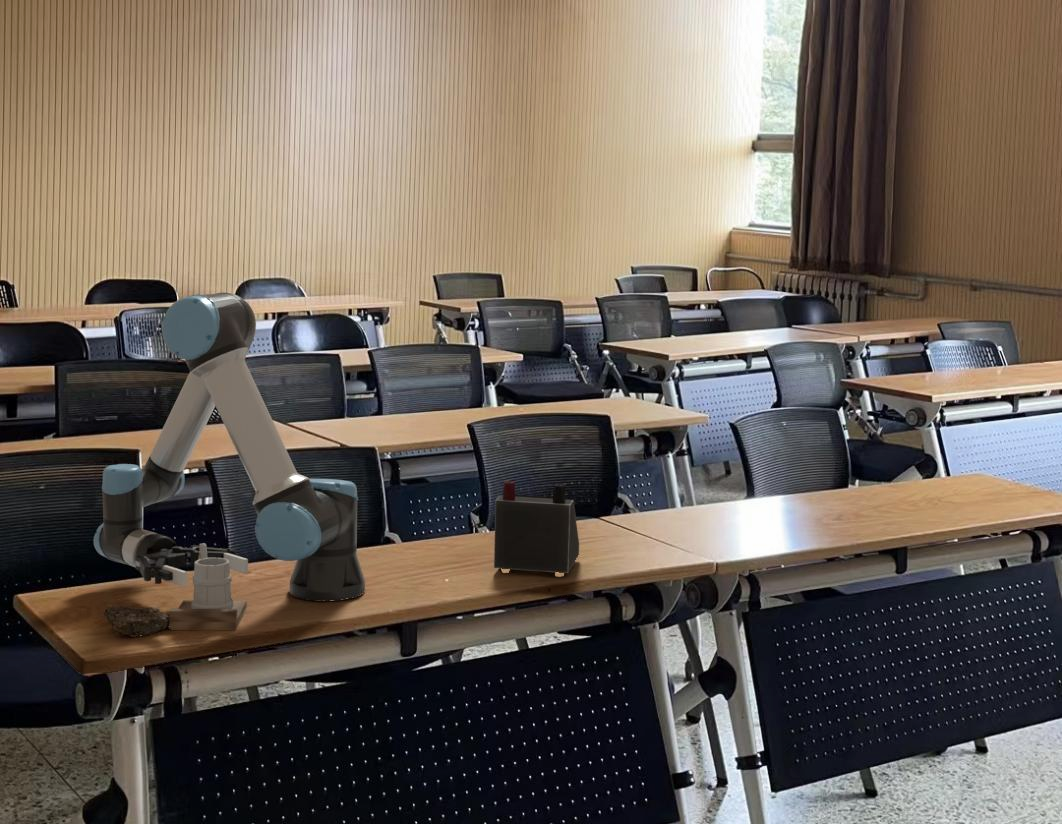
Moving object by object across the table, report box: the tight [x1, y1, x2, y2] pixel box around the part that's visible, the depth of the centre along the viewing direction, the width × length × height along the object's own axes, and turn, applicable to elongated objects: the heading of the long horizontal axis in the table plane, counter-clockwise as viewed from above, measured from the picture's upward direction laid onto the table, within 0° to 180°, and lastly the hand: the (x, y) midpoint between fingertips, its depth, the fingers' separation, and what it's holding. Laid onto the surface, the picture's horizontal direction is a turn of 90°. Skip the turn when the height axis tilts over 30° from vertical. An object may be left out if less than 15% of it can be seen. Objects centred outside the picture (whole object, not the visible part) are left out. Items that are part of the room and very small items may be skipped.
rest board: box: [168, 599, 248, 631], centre depth 258 cm, size 12×14×4 cm
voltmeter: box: [493, 480, 580, 574], centre depth 301 cm, size 16×16×20 cm
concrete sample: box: [102, 604, 169, 638], centre depth 250 cm, size 12×10×5 cm
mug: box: [191, 542, 234, 609], centre depth 258 cm, size 8×12×12 cm, turn 30°
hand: (216, 572), depth 255 cm, fingers open, 13 cm apart
